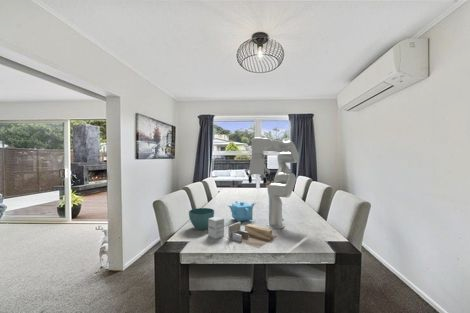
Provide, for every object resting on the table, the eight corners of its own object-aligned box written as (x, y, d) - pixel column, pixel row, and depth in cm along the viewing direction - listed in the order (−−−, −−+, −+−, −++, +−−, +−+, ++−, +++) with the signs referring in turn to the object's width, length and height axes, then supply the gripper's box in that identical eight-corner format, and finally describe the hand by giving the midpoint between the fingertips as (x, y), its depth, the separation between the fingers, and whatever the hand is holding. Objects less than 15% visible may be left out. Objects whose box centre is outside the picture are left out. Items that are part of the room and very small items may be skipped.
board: (247, 231, 155) (247, 228, 155) (277, 238, 140) (277, 236, 140) (226, 240, 138) (226, 238, 138) (258, 250, 123) (258, 247, 123)
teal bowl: (209, 233, 151) (209, 214, 151) (184, 231, 155) (184, 213, 155) (217, 224, 169) (217, 208, 169) (194, 223, 172) (194, 207, 172)
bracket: (239, 234, 145) (239, 221, 145) (250, 237, 139) (250, 224, 139) (228, 239, 136) (228, 226, 136) (239, 242, 131) (239, 228, 131)
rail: (248, 231, 149) (248, 224, 149) (272, 237, 138) (272, 229, 138) (245, 233, 146) (244, 225, 146) (269, 239, 135) (269, 231, 135)
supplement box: (207, 238, 142) (207, 218, 142) (217, 235, 147) (216, 216, 147) (215, 241, 137) (215, 220, 136) (224, 238, 142) (224, 218, 142)
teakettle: (248, 225, 168) (248, 205, 168) (226, 222, 175) (226, 203, 175) (256, 218, 185) (256, 200, 185) (235, 216, 192) (235, 199, 192)
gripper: (272, 156, 145) (272, 183, 144) (247, 156, 152) (247, 182, 152) (268, 156, 138) (268, 184, 138) (242, 156, 145) (242, 183, 145)
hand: (257, 183), depth 145 cm, fingers open, 9 cm apart
